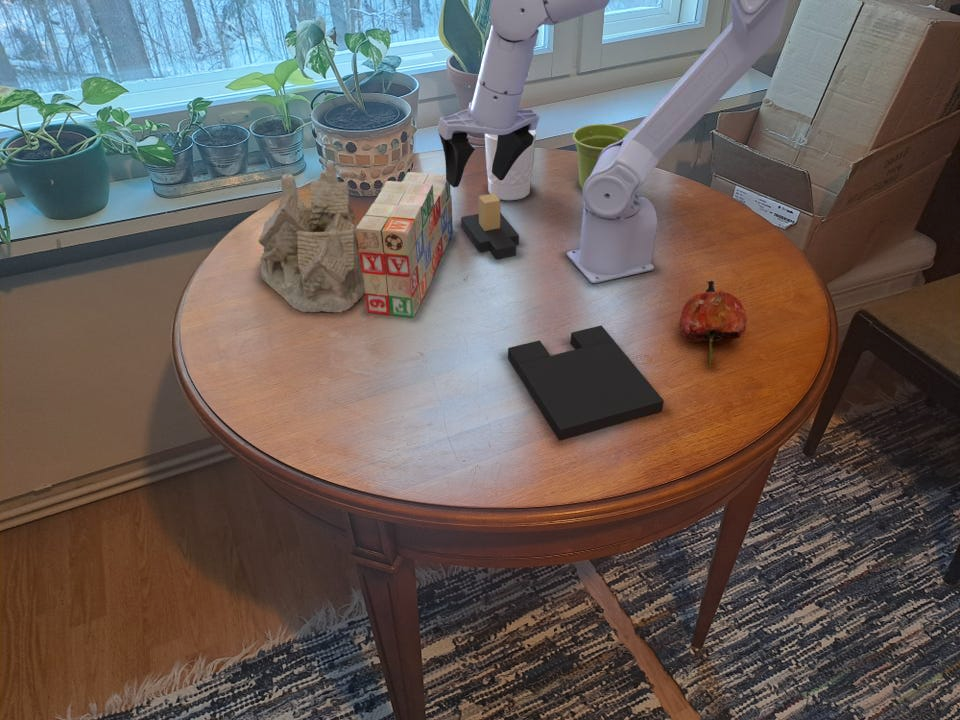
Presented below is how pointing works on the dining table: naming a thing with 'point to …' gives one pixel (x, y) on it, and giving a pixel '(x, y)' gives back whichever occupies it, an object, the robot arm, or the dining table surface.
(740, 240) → the dining table surface
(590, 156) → the plant pot
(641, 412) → the big pad
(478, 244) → the small pad
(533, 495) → the dining table surface
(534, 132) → the white cup
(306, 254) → the ceramic cottage
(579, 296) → the dining table surface
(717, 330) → the pomegranate
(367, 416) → the dining table surface
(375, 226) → the stack of blocks
